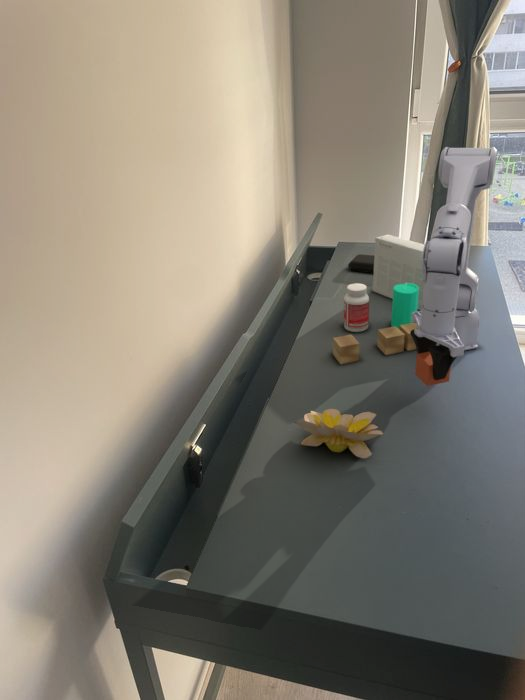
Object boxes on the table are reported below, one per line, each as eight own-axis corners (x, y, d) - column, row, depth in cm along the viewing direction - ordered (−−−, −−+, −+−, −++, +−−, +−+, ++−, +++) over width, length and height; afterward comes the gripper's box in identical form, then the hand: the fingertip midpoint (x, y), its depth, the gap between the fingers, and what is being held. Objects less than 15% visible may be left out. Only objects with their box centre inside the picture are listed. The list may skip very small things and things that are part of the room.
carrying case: (401, 264, 168) (357, 259, 174) (402, 255, 166) (357, 251, 173) (392, 276, 160) (346, 271, 166) (393, 267, 158) (346, 262, 164)
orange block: (436, 369, 102) (438, 349, 99) (448, 381, 98) (451, 361, 96) (414, 374, 101) (416, 353, 99) (426, 386, 97) (429, 365, 95)
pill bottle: (373, 327, 132) (375, 287, 127) (355, 335, 130) (355, 294, 124) (356, 319, 137) (357, 279, 132) (338, 326, 134) (338, 286, 129)
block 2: (394, 342, 125) (395, 326, 123) (403, 351, 121) (404, 334, 119) (377, 346, 124) (377, 329, 122) (385, 355, 121) (386, 338, 118)
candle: (416, 321, 133) (420, 277, 127) (414, 333, 129) (418, 287, 123) (392, 319, 135) (395, 276, 129) (389, 330, 130) (392, 285, 125)
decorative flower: (395, 422, 96) (390, 384, 90) (380, 473, 89) (374, 436, 83) (317, 411, 103) (308, 375, 96) (298, 457, 96) (287, 421, 89)
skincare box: (443, 308, 139) (450, 251, 131) (429, 315, 136) (435, 256, 128) (385, 285, 154) (387, 232, 146) (371, 291, 152) (373, 237, 144)
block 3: (415, 338, 126) (417, 321, 124) (425, 347, 122) (426, 330, 120) (398, 342, 125) (399, 325, 123) (407, 350, 122) (408, 333, 119)
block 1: (351, 351, 123) (351, 334, 121) (359, 360, 119) (359, 343, 117) (333, 354, 122) (333, 337, 120) (340, 364, 119) (340, 346, 116)
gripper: (398, 293, 97) (394, 356, 104) (440, 327, 85) (433, 396, 92) (433, 287, 99) (427, 350, 105) (479, 320, 86) (469, 388, 93)
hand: (432, 371), depth 99 cm, fingers closed on orange block, 4 cm apart
